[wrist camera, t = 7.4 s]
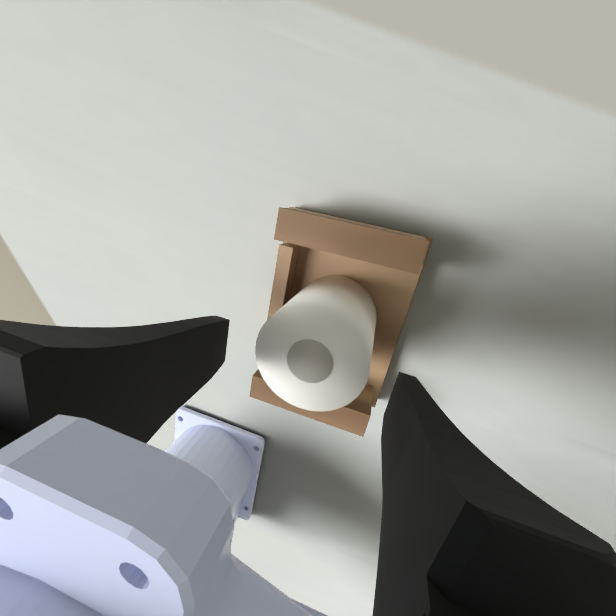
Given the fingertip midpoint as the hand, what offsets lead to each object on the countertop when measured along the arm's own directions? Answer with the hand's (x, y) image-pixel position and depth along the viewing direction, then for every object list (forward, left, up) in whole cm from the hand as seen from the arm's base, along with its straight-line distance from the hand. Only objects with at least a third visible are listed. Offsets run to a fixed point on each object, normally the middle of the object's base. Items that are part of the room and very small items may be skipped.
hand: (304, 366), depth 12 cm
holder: (0, 0, -8) cm, 8 cm away
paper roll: (0, 0, -7) cm, 7 cm away
